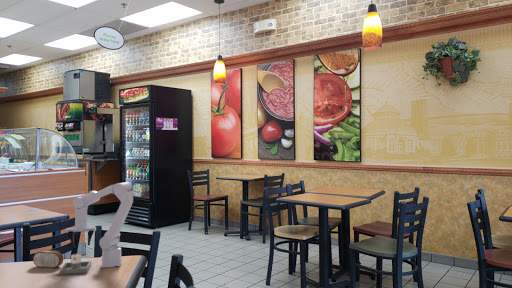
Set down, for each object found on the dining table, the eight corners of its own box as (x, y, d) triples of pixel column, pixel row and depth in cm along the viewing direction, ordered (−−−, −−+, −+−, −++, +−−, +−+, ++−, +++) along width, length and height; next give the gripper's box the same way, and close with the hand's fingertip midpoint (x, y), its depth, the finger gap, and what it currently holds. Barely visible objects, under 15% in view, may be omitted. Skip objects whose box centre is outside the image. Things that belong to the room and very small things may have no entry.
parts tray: (91, 265, 198) (91, 261, 198) (87, 273, 186) (87, 268, 186) (65, 267, 195) (65, 262, 195) (60, 275, 183) (60, 270, 183)
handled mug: (81, 267, 193) (81, 253, 194) (79, 270, 188) (79, 256, 188) (72, 268, 192) (72, 254, 192) (69, 271, 187) (69, 257, 187)
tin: (63, 266, 197) (63, 250, 197) (59, 268, 193) (60, 252, 193) (36, 265, 198) (36, 249, 198) (31, 267, 195) (32, 251, 195)
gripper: (64, 221, 197) (64, 248, 197) (94, 220, 200) (94, 246, 200) (67, 219, 204) (67, 244, 204) (96, 218, 207) (96, 243, 207)
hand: (80, 245), depth 202 cm, fingers open, 7 cm apart
